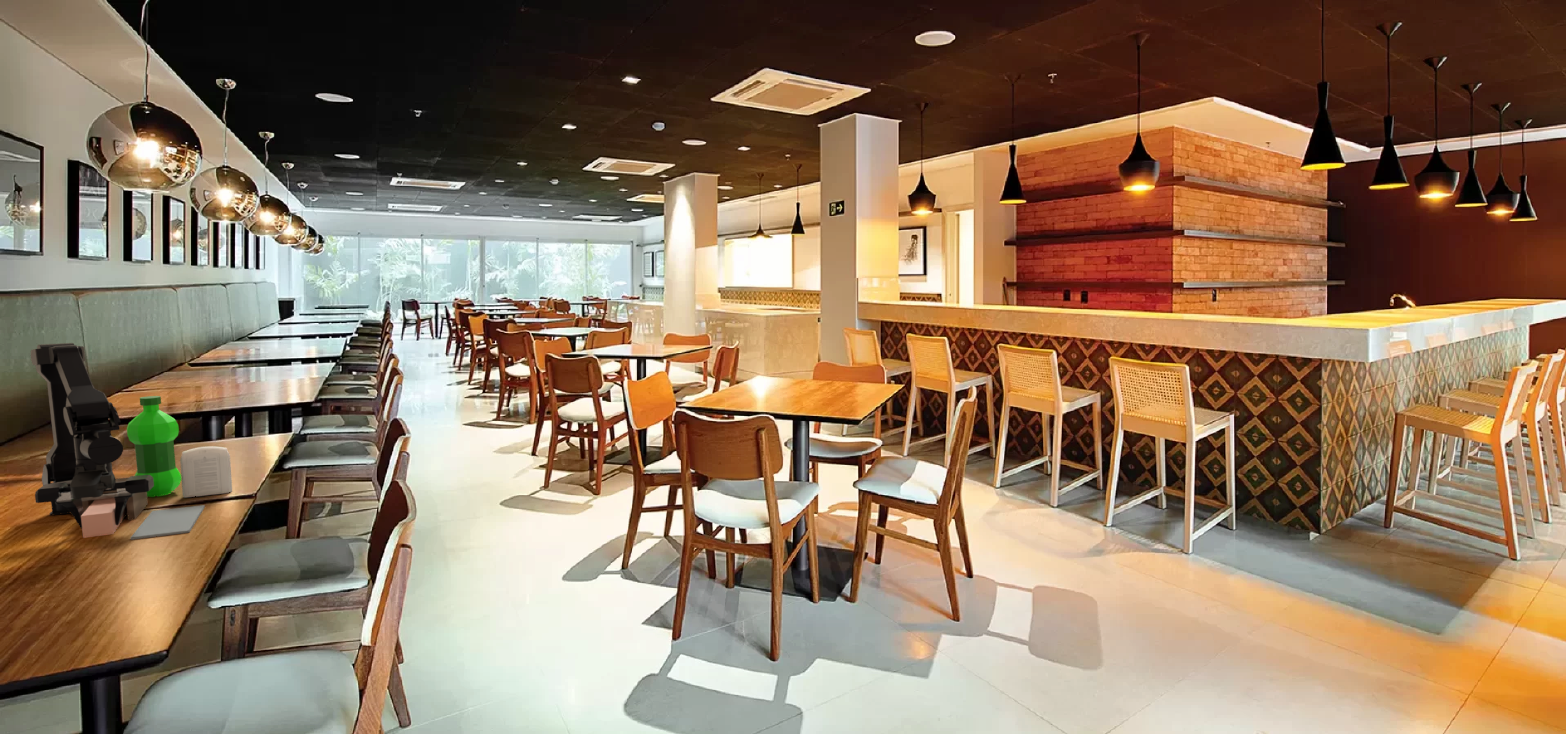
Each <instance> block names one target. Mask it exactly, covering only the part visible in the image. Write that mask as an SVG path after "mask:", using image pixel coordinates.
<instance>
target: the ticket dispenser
mask: <svg viewBox="0 0 1566 734" xmlns="http://www.w3.org/2000/svg"><path fill="white" fill-rule="evenodd" d="M128 478H129V477H121V478H115V480H116V482H119V481H126V480H127V479H128ZM117 494H118V492H117V490H115V491H105V492H103V494H102V495H101V496H99V497H95V498H93V497H87V498H81V499H82V505H83V511H84V512H85V511H86V510H87V508H88V507H89V506H90V505H91V504H92V503H93V501H94V500H98V499H108V498H114V497H115V496H116V495H117ZM148 504H149V503H148V497H147V492H142V493H135V494H134V495H133V496H132V497H129V499H128V501H127V520H128V521H131V519H132V520H136V519H137V518H138V516H139V515H140V514H141V513H142V512H143V510H144V509H145V508H146V507H147V506H148ZM146 505H147V506H146Z"/></svg>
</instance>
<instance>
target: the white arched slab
mask: <svg viewBox="0 0 1566 734" xmlns="http://www.w3.org/2000/svg"><path fill="white" fill-rule="evenodd" d="M228 450H229V449H228V447H225V446H224V447H223V446H215V445H213V446H212V445H211V446H208V445H207V446H198V447H194V448H190V449H188V450H184V451H182V452H181V456H180V460H179V462H180V474H181V491H182V493H181V494H182V497H183V498H184V499H185V498H192V497H193V498H195V496H196V497H204V496H212V495H213V496H214V495H220V494H221V495H222V494H230V493H232V492H233V482H232V481H233V480H232V466H231V455H230V452H229V451H228ZM229 492H230V493H229Z"/></svg>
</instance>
